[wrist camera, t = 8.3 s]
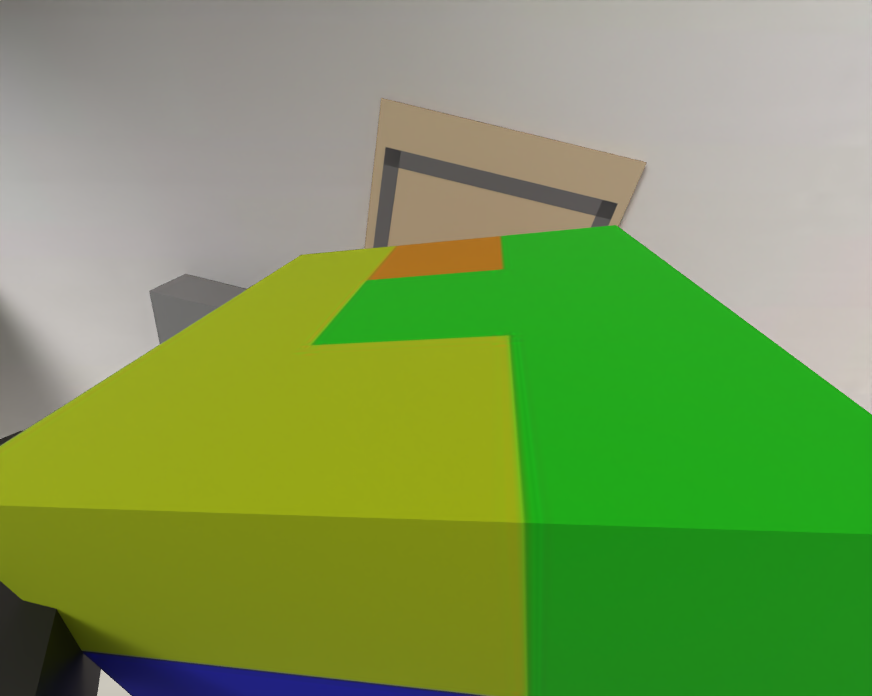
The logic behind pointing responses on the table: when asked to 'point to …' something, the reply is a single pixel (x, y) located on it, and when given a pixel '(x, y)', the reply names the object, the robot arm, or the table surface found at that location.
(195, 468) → the puzzle toy
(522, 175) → the sheet
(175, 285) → the button box
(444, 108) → the table surface
